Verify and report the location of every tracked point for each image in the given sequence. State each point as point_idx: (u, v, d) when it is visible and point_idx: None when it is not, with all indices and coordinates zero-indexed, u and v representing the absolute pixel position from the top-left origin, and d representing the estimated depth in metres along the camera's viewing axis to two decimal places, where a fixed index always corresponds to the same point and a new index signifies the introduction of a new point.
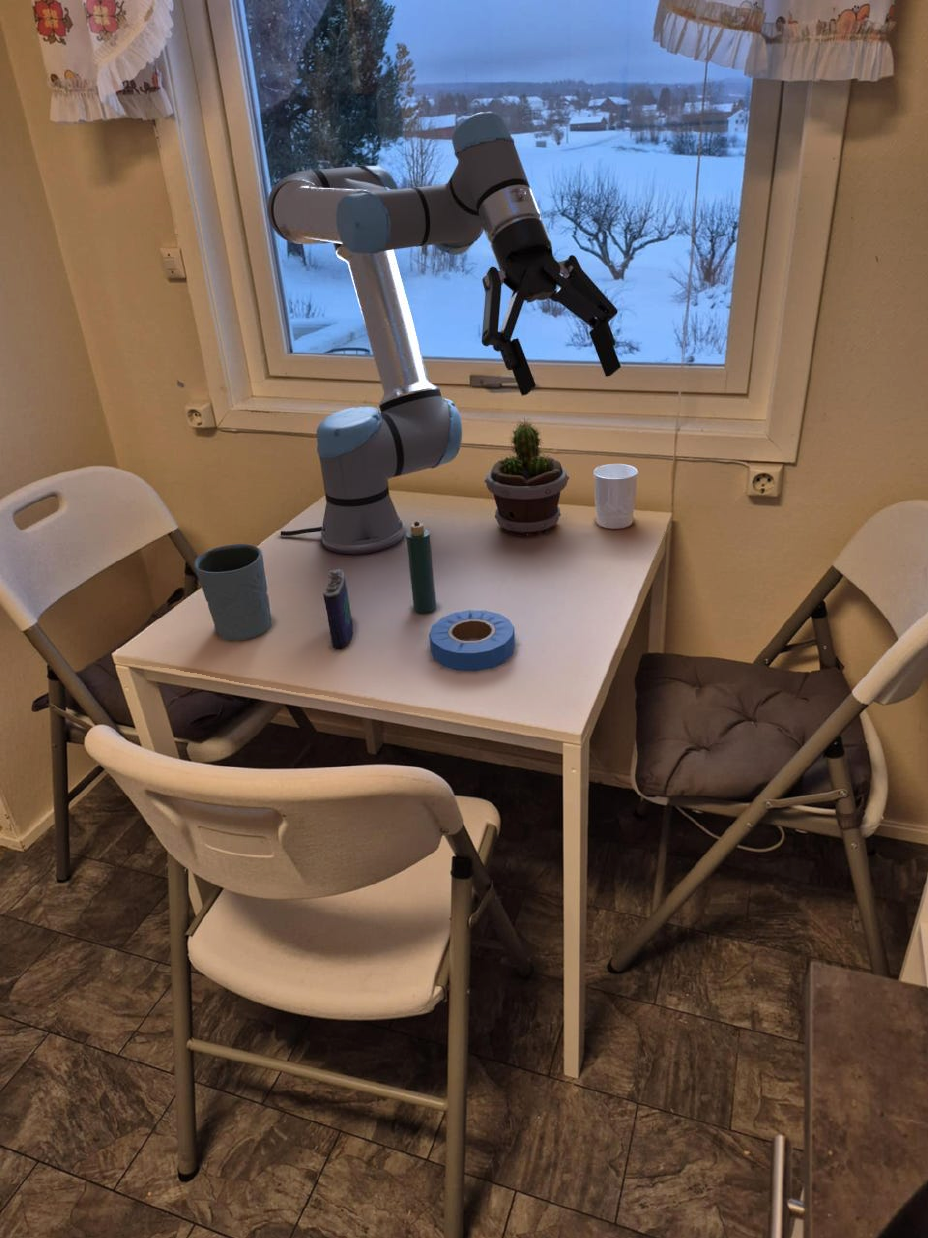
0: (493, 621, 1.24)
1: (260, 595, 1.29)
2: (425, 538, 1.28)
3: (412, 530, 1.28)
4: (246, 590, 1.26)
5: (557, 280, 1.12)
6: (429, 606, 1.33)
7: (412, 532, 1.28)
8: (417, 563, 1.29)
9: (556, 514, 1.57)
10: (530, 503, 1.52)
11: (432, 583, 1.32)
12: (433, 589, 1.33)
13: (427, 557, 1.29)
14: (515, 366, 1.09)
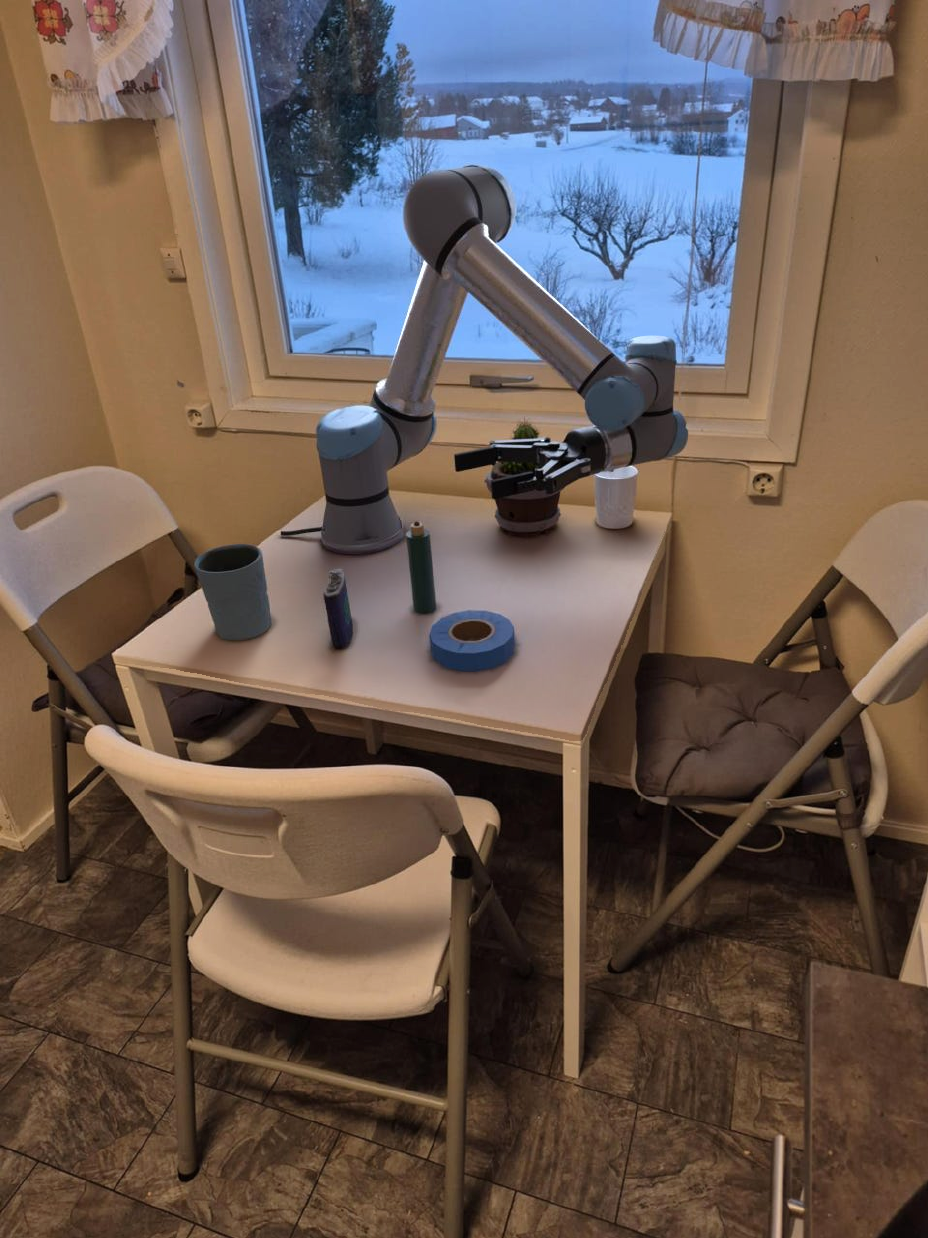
0: (493, 621, 1.24)
1: (260, 595, 1.29)
2: (425, 538, 1.28)
3: (412, 530, 1.28)
4: (246, 590, 1.26)
5: None
6: (429, 606, 1.33)
7: (412, 532, 1.28)
8: (417, 563, 1.29)
9: (556, 514, 1.57)
10: (530, 503, 1.52)
11: (432, 583, 1.32)
12: (433, 589, 1.33)
13: (427, 557, 1.29)
14: (515, 488, 1.23)
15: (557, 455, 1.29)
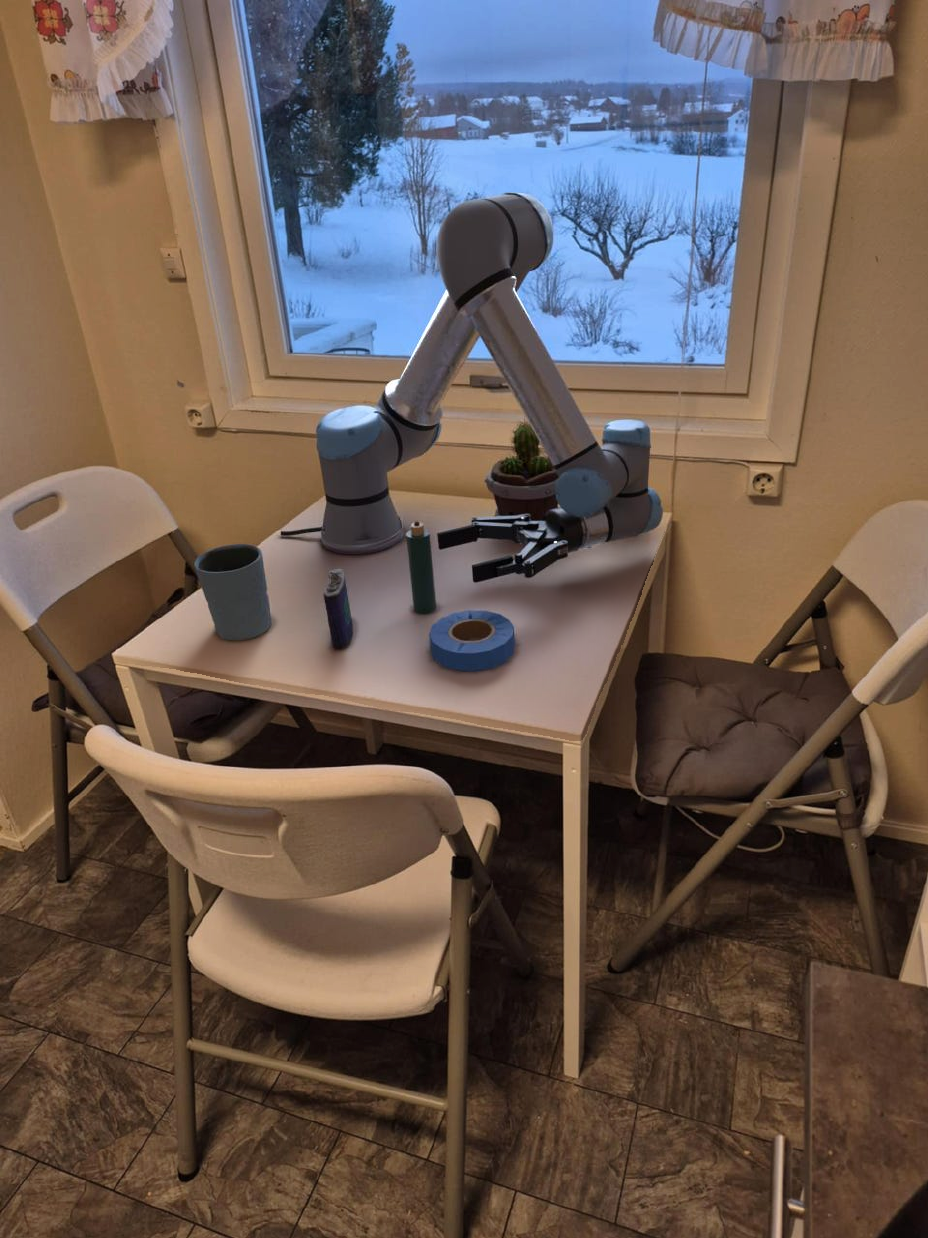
0: (493, 621, 1.24)
1: (260, 595, 1.29)
2: (425, 538, 1.28)
3: (412, 530, 1.28)
4: (246, 590, 1.26)
5: None
6: (429, 606, 1.33)
7: (412, 532, 1.28)
8: (417, 563, 1.29)
9: None
10: (530, 503, 1.52)
11: (432, 583, 1.32)
12: (433, 589, 1.33)
13: (427, 557, 1.29)
14: (495, 572, 1.28)
15: (536, 537, 1.34)
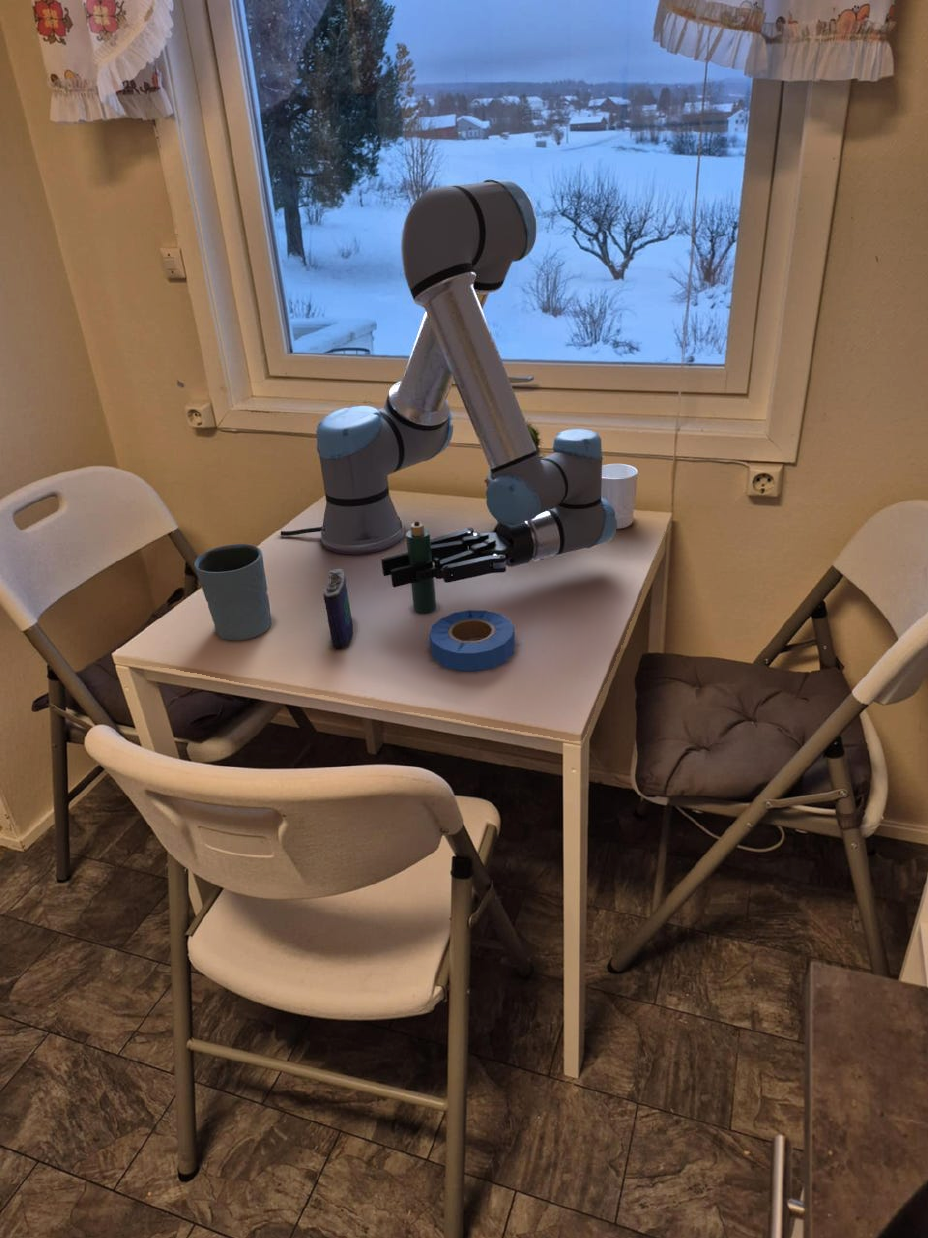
0: (493, 621, 1.24)
1: (260, 595, 1.29)
2: (425, 538, 1.28)
3: (412, 530, 1.28)
4: (246, 590, 1.26)
5: None
6: (429, 606, 1.33)
7: (412, 532, 1.28)
8: None
9: None
10: None
11: (432, 583, 1.32)
12: (433, 589, 1.33)
13: (427, 557, 1.29)
14: (415, 576, 1.28)
15: (475, 547, 1.32)
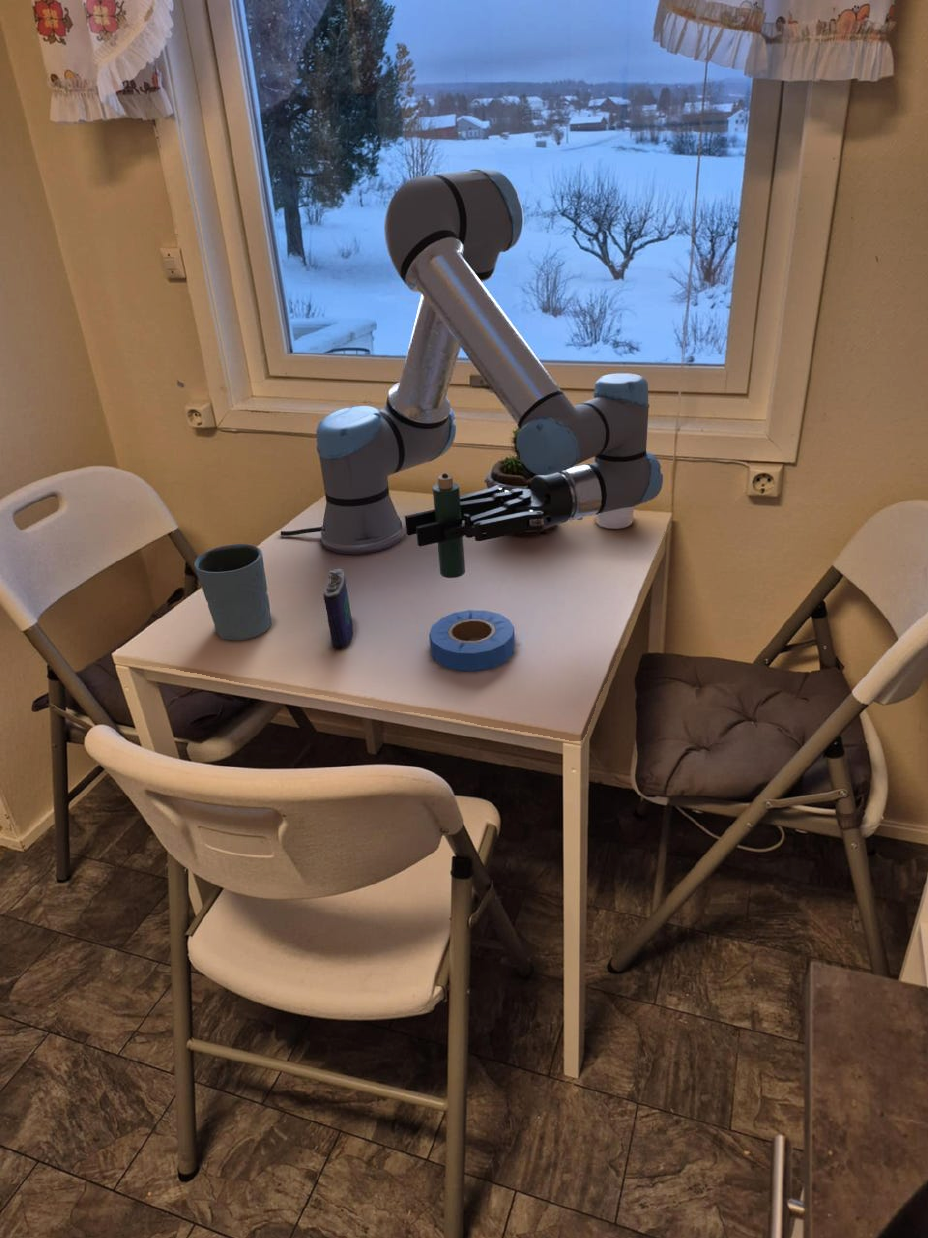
0: (493, 621, 1.24)
1: (260, 595, 1.29)
2: (454, 491, 1.15)
3: (440, 483, 1.15)
4: (246, 590, 1.26)
5: None
6: (457, 569, 1.20)
7: (440, 485, 1.15)
8: None
9: None
10: None
11: (461, 544, 1.19)
12: (462, 550, 1.20)
13: (456, 513, 1.16)
14: (443, 535, 1.16)
15: (509, 503, 1.19)
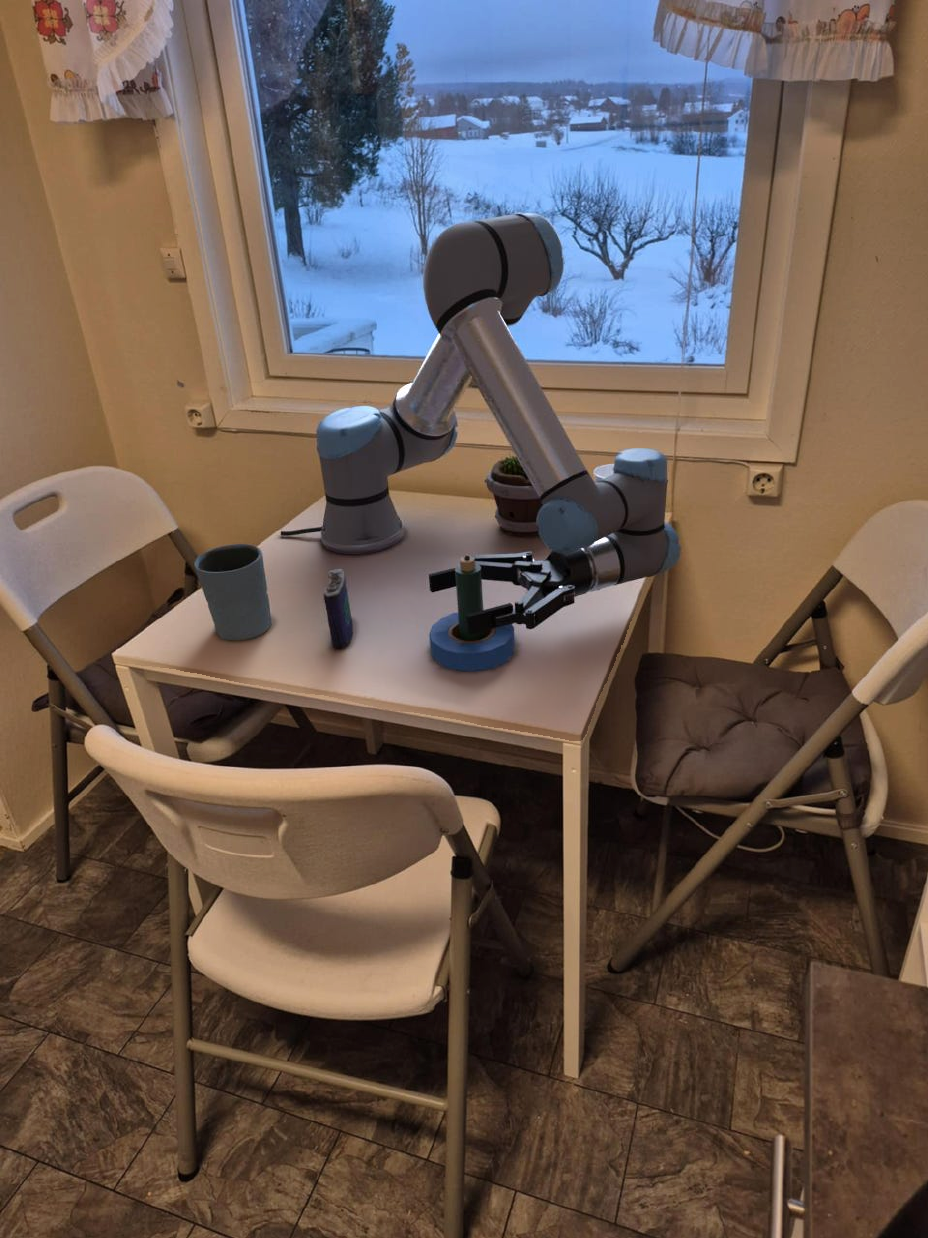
0: None
1: (260, 595, 1.29)
2: (476, 573, 1.16)
3: (462, 565, 1.16)
4: (246, 590, 1.26)
5: None
6: None
7: (462, 567, 1.17)
8: (466, 601, 1.18)
9: None
10: (530, 503, 1.52)
11: None
12: None
13: (478, 594, 1.18)
14: (493, 622, 1.14)
15: (539, 581, 1.19)
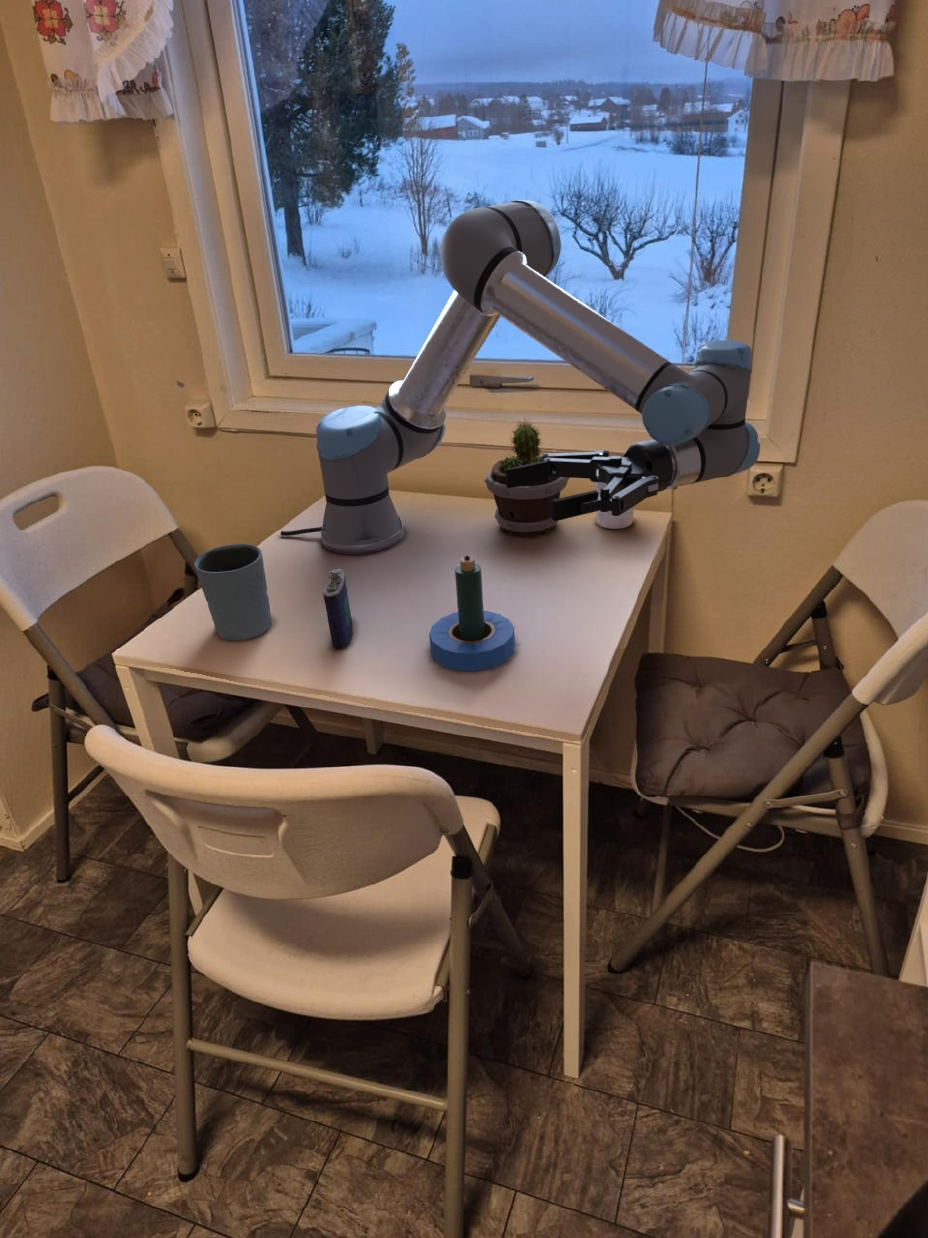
0: (493, 621, 1.24)
1: (260, 595, 1.29)
2: (476, 573, 1.16)
3: (462, 565, 1.16)
4: (246, 590, 1.26)
5: (602, 481, 1.23)
6: None
7: (462, 567, 1.17)
8: (466, 601, 1.18)
9: None
10: (530, 503, 1.52)
11: (482, 622, 1.21)
12: (483, 628, 1.21)
13: (478, 594, 1.18)
14: (578, 509, 1.11)
15: (621, 472, 1.17)
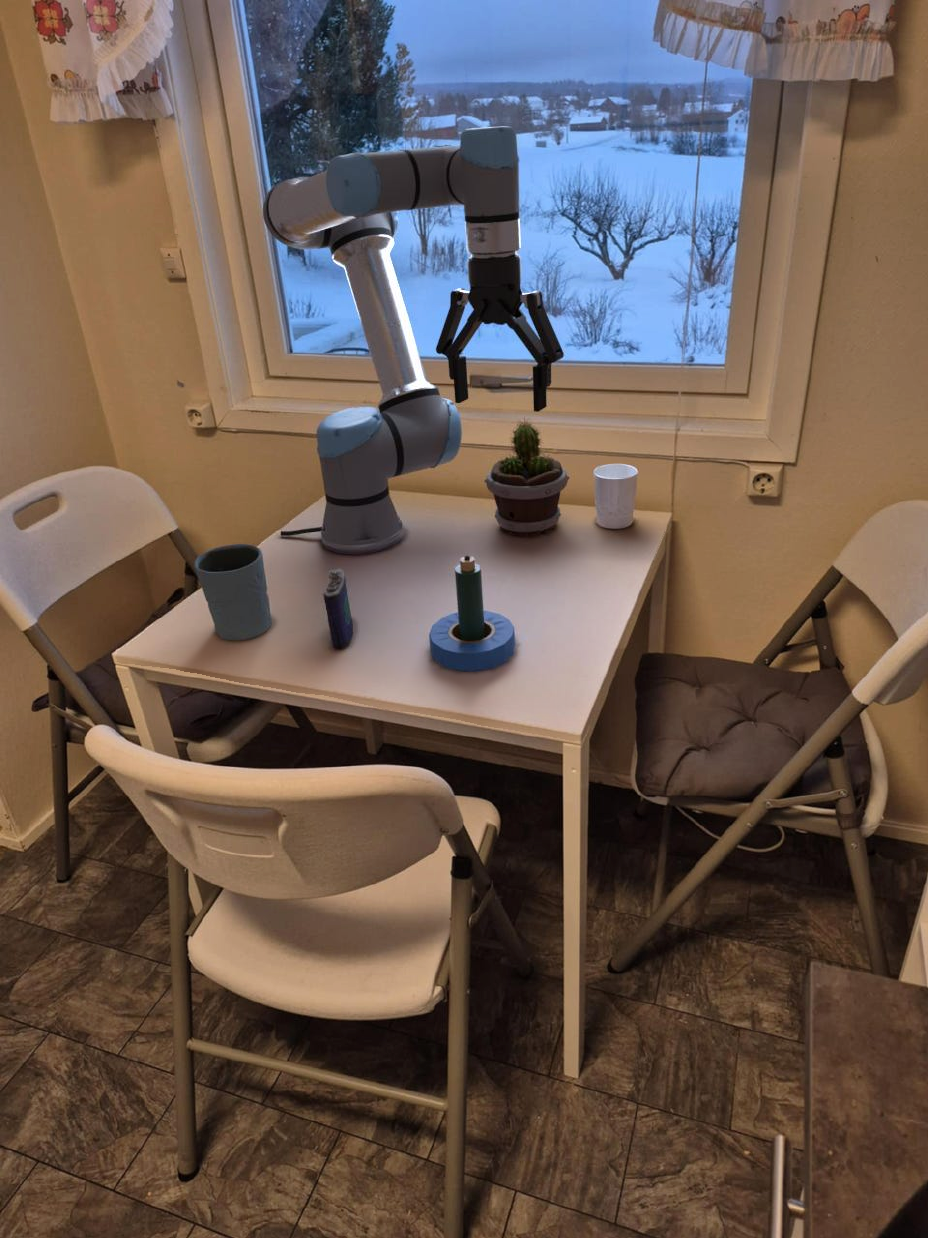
0: (493, 621, 1.24)
1: (260, 595, 1.29)
2: (476, 573, 1.16)
3: (462, 565, 1.16)
4: (246, 590, 1.26)
5: (504, 318, 1.21)
6: None
7: (462, 567, 1.17)
8: (466, 601, 1.18)
9: (556, 514, 1.57)
10: (530, 503, 1.52)
11: (482, 622, 1.21)
12: (483, 628, 1.21)
13: (478, 594, 1.18)
14: None
15: None
